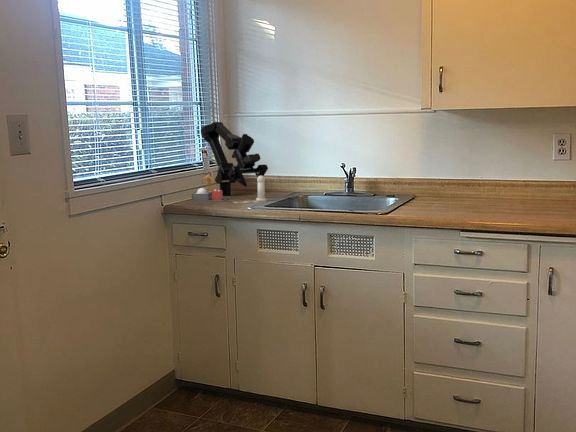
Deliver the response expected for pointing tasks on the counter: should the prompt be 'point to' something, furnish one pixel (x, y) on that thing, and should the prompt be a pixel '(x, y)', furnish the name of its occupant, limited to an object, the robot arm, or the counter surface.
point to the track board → (247, 201)
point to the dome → (201, 191)
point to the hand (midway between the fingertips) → (254, 185)
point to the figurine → (208, 181)
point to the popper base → (208, 196)
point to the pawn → (261, 189)
